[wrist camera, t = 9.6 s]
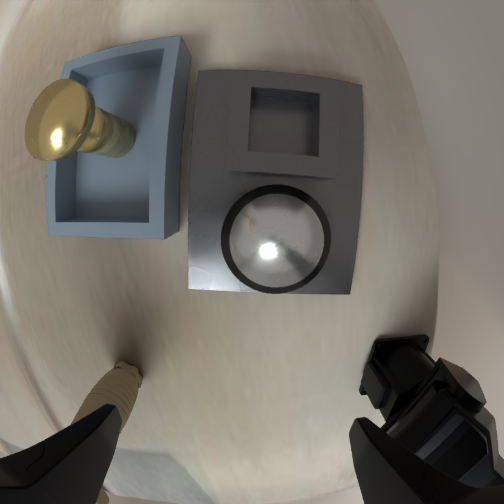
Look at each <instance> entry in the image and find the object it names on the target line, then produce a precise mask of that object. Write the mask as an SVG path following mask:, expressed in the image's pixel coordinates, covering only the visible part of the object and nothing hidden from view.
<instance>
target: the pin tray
mask: <svg viewBox="0 0 504 504" xmlns="http://www.w3.org/2000/svg"><path fill="white" fill-rule="evenodd" d="M190 62H191V55H190V53H189V51H188V49H187V47H186V45H185V43H184V41H183V39H182V37H181V35H180V36H172V37H164V38H158V39H151V40H146V41H140V42H135V43H130V44H126V45H122V46H117V47H113V48H109V49H106V50H102V51H98V52H95V53H92V54H88V55H85V56H82V57H79V58H76V59H73V60H71V61H68V62H65V63H64V67H63V71H62V75H61V79H71V80H74V81H76V82H77V83H79V84H81V85H83V86H85V87H87V88H88V89H89V90H90V91H91V93H92V94H93V97H94V100H95V106H97V107H99V108H101V109H103V110H106V111H108V112H110V113H112V114H114V115H116V116H118V117H120V118H122V119H124V120H126V121H128V122H130V123H131V124H132V125H133V126H134V128H135V131H136V140H135V144H134V146H133V148H132V149H131V151H130V152H129V153H128V154H126V155H125V156H123V157H121V158H110V157H105V156H100V155H94V154H88V153H82V152H76V153H75V154H73V155H72V156H71V157H69V158H67V159H65V160H62V161H48V164H47V187H46V209H47V233H48V236H78V237H110V238H139V239H166V238H167V237H169V236H171V235H173V234H175V233H176V232H178V231H179V196H180V170H181V152H182V138H183V125H184V114H185V104H186V94H187V86H188V77H189V70H190Z"/></svg>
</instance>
